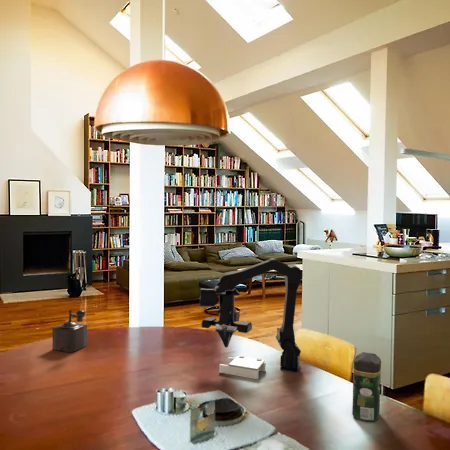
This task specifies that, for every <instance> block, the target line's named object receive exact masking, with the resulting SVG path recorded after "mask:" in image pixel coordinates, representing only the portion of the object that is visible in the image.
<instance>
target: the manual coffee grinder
mask: <svg viewBox="0 0 450 450" xmlns="http://www.w3.org/2000/svg"><path fill="white" fill-rule="evenodd" d="M85 316H86V311H85V310H84V309H78V310H77V311H76V312H75V314H74V313H73V309H71V308H70V309H68V321H65V322H64V323H62V324H60V325H57V326H53V327H52V347H51V349H52V350H53V351H57V352H65V353H76V352H78V351H79V350H82V349H84V348H86V347H87V345H88V325H87V324H83V323H82V322H83V321H84V317H85ZM72 317H74V318H76V319H75V321H74V320H73V321H72ZM76 321H77V322H76ZM80 322H81V323H80Z"/></svg>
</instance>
